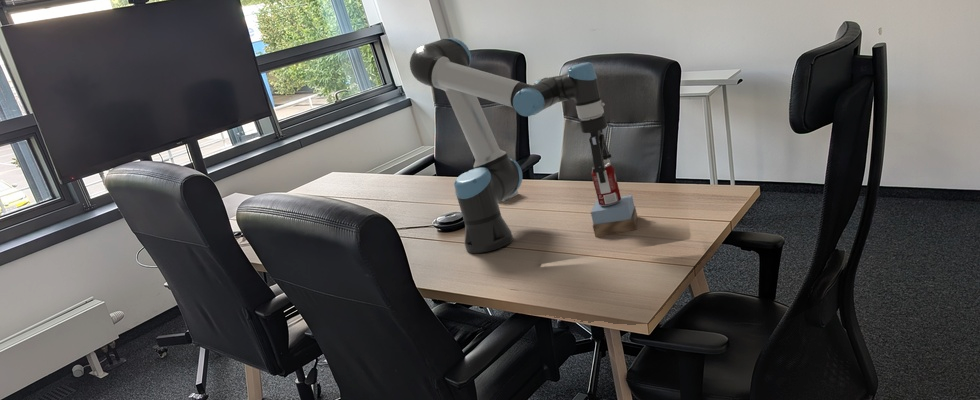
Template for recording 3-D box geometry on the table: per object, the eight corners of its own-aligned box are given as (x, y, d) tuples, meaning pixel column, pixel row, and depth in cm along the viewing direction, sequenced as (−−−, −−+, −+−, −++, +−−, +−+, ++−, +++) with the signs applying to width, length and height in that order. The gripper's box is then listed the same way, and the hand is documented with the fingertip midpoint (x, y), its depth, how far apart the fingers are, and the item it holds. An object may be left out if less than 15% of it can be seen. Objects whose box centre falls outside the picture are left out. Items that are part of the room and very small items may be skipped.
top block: (593, 224, 219) (590, 212, 218) (599, 213, 229) (596, 200, 228) (630, 219, 215) (627, 206, 214) (634, 207, 225) (631, 194, 224)
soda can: (621, 205, 217) (611, 165, 214) (598, 209, 219) (588, 170, 216) (622, 198, 223) (613, 160, 220) (600, 202, 225) (590, 164, 222)
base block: (595, 238, 219) (592, 225, 218) (599, 225, 231) (596, 213, 230) (636, 231, 216) (633, 218, 215) (637, 218, 227) (635, 205, 226)
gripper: (601, 122, 202) (617, 196, 207) (607, 106, 226) (622, 172, 231) (574, 128, 205) (591, 201, 210) (583, 111, 228) (598, 177, 233)
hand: (607, 186), depth 220 cm, fingers open, 13 cm apart
